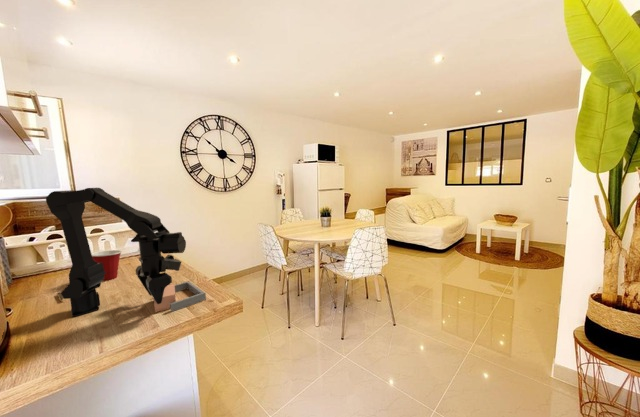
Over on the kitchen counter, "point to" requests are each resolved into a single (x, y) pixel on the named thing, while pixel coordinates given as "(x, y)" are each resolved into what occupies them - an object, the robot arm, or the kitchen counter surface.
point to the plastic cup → (108, 262)
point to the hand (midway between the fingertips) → (155, 299)
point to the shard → (61, 297)
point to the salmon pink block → (166, 298)
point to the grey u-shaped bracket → (188, 301)
